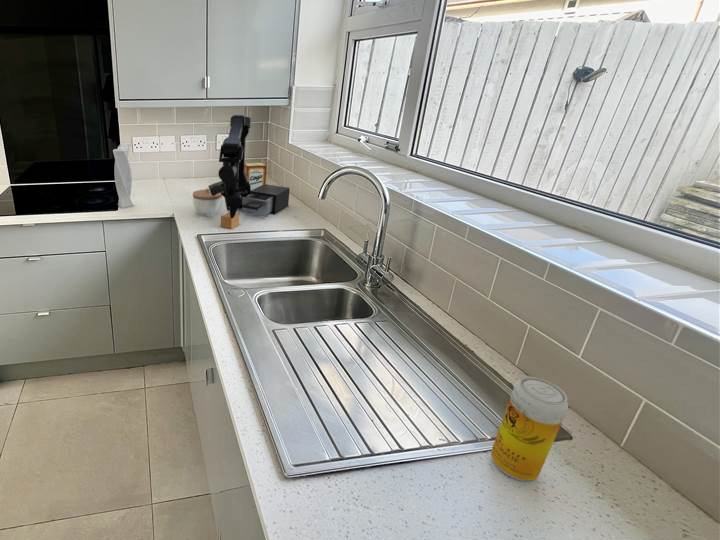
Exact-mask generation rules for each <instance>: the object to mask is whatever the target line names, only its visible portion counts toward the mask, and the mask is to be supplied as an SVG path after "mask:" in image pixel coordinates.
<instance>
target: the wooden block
mask: <svg viewBox="0 0 720 540" xmlns="http://www.w3.org/2000/svg"><path fill="white" fill-rule="evenodd" d="M239 224H240V214H239V213H236V214H235V216H234V218H231V217H230V212H229V211H227V212H226V213H224V214H223V215H221V216H220V227H221V228H226V229H230V230H232V229H233V228H234V229H235V228H236V227H237V226H239Z"/></svg>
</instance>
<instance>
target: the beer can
mask: <svg viewBox="0 0 720 540" xmlns="http://www.w3.org/2000/svg"><path fill="white" fill-rule="evenodd" d="M510 394H511V395H510V397H509V399H508V402H507V405H506V408H505V411H504V414H503V417H502V419H501V422H500V425H499V428H498V430H497V432H496V436H495V439H494V441H493V443H492V444H493V445H492V447H491V450H490V456H491V458H492V460H493V462H494V464H495V465H496V467H497V468H498V469H499V471H501V472H502V473H503V474H504V475H506V476H508V477H509V478H512V479H514V480H518V481H522V482H527V481H528V482H529V481H533V480H536V479H538V478H539V476H540V473H541V472H542V469H543V466H544V465H545V462H546V461H547V458H548V455H549V453H550V451H551V448H552V446H553V444H554V441H555V440H556V438H557V435H558V432H559V430H560V428H561V425H562V423H563V421H564V418H565V416H566V414H567V412H568V409H569V403H568V395H567V394H566V393H565V391H564V390H563V389H562V388H560V387H559V386H558V385H556V384H555V383H553V382H551V381H550V380H549V381H548V380H546V379H544V378H541V377H540V378H539V377H535V376H524V377H522V378H520V379H519V380H518V381H517V382H516V383H515V384H514V386H513V389H512V392H511V393H510Z"/></svg>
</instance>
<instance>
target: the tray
mask: <svg viewBox="0 0 720 540" xmlns="http://www.w3.org/2000/svg"><path fill="white" fill-rule="evenodd" d="M272 211H274V197H273V196H267V195H261V194H255V193H253V194H251V195H249V196H247V197H243V199H242V209H241V213H243V214H247V215H248V214H249V215H253V216H258V217H263V218H267V217H268V215H269V214H270V212H272Z"/></svg>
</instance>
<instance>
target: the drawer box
mask: <svg viewBox="0 0 720 540" xmlns="http://www.w3.org/2000/svg"><path fill="white" fill-rule="evenodd" d="M253 193H255V194H261V195H267V196H273V197H274V211H272V212H270V213H269V214H271V215H276V214H279V212H281V211H283V210H284V209H286V208H288V207H289V202H290V187H287V186H280V185H273V184H268V183H267V184H266V183H265V184H264V185H262V186H259V187H257V188H255V189H253V190H251V191H250V195H251V194H253Z"/></svg>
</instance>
